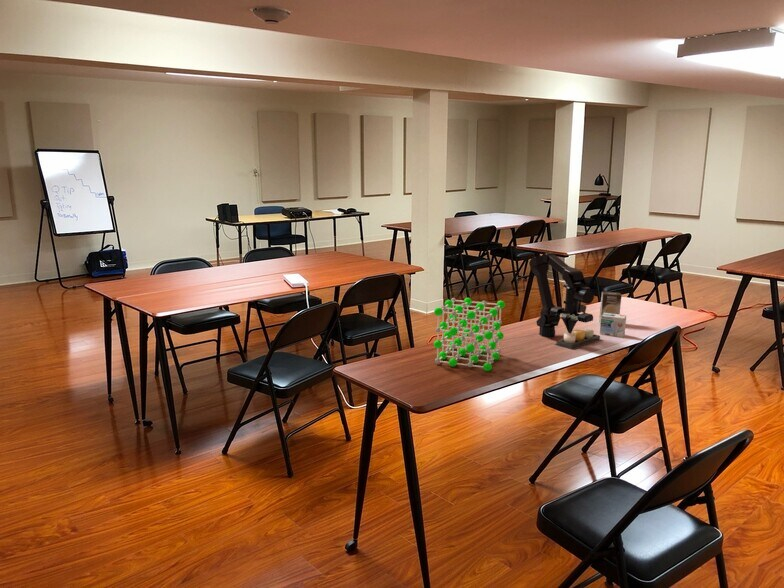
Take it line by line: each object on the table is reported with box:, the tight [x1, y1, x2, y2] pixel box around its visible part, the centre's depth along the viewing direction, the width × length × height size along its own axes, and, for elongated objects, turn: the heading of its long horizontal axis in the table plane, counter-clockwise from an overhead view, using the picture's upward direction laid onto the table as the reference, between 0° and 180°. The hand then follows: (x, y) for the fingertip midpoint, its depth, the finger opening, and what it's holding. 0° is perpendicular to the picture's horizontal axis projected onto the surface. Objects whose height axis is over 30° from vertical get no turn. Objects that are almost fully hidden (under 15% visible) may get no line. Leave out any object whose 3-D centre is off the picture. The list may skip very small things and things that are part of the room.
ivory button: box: [563, 332, 576, 344], centre depth 267 cm, size 5×5×4 cm
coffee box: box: [598, 291, 622, 325], centre depth 306 cm, size 9×6×16 cm
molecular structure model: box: [433, 297, 506, 372], centre depth 251 cm, size 24×25×24 cm
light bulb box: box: [599, 313, 627, 338], centre depth 284 cm, size 11×7×11 cm, turn 62°
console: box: [553, 333, 602, 351], centre depth 272 cm, size 10×23×3 cm, turn 129°
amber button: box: [572, 329, 585, 341], centre depth 271 cm, size 5×5×4 cm
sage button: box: [582, 328, 595, 338], centre depth 276 cm, size 5×5×4 cm
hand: (569, 333), depth 266 cm, fingers closed
